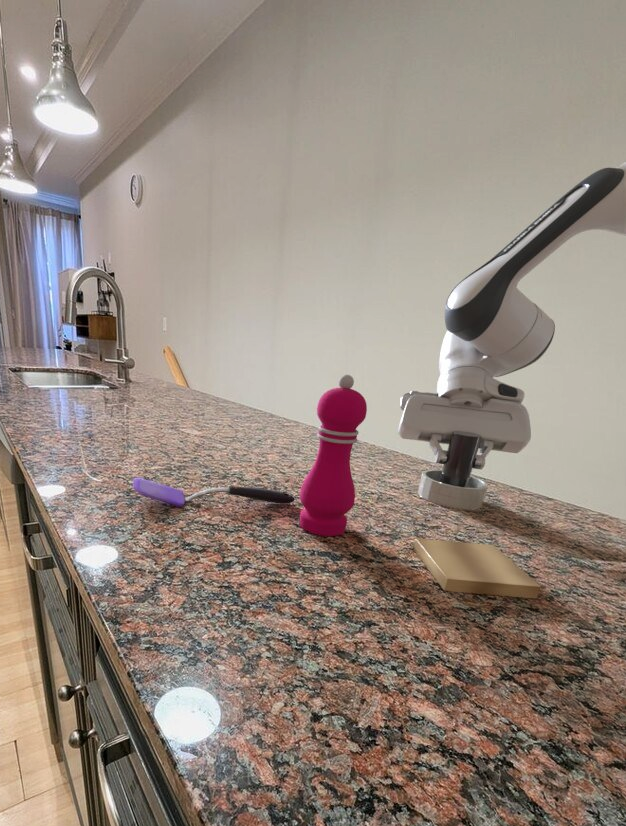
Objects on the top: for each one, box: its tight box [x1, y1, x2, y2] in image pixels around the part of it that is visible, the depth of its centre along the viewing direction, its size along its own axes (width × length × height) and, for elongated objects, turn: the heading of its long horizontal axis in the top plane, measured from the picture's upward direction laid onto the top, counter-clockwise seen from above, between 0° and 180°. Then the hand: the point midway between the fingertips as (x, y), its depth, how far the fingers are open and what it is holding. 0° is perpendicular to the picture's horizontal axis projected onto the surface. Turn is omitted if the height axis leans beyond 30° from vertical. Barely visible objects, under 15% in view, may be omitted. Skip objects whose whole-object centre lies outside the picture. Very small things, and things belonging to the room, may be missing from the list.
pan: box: [417, 469, 489, 510], centre depth 75 cm, size 10×10×4 cm
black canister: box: [439, 431, 482, 488], centre depth 74 cm, size 4×4×11 cm
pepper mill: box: [298, 374, 368, 537], centre depth 57 cm, size 7×7×20 cm
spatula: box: [132, 477, 295, 508], centre depth 66 cm, size 24×7×2 cm, turn 98°
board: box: [412, 538, 542, 600], centre depth 52 cm, size 10×10×2 cm
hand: (459, 464), depth 73 cm, fingers closed on black canister, 4 cm apart
